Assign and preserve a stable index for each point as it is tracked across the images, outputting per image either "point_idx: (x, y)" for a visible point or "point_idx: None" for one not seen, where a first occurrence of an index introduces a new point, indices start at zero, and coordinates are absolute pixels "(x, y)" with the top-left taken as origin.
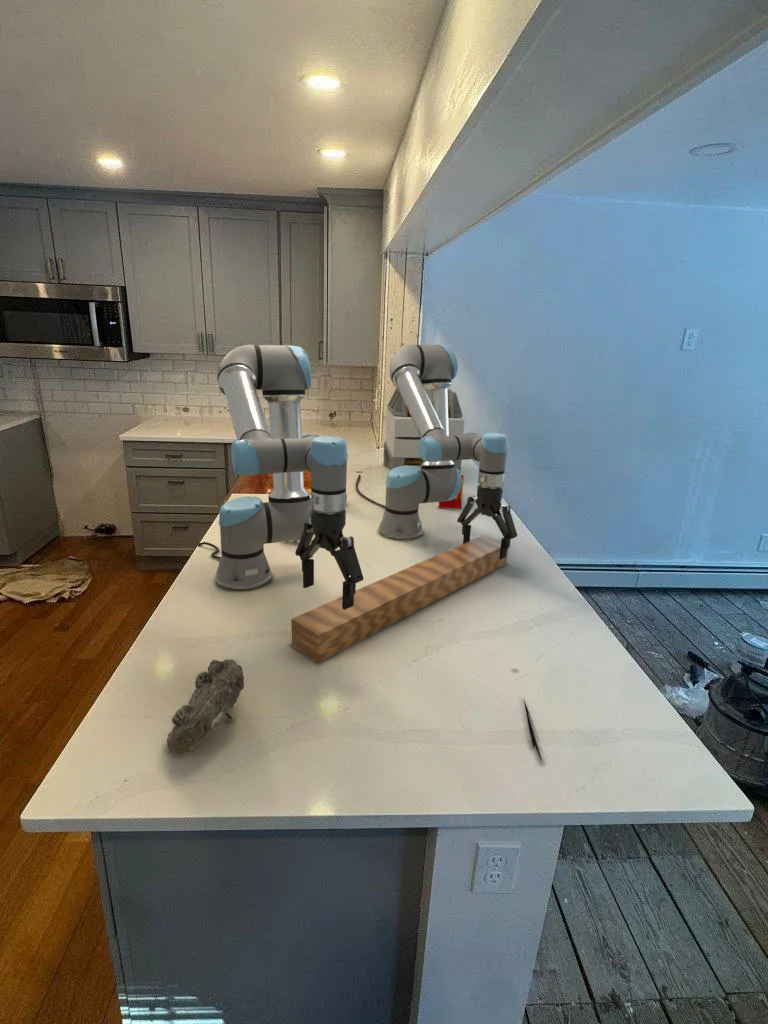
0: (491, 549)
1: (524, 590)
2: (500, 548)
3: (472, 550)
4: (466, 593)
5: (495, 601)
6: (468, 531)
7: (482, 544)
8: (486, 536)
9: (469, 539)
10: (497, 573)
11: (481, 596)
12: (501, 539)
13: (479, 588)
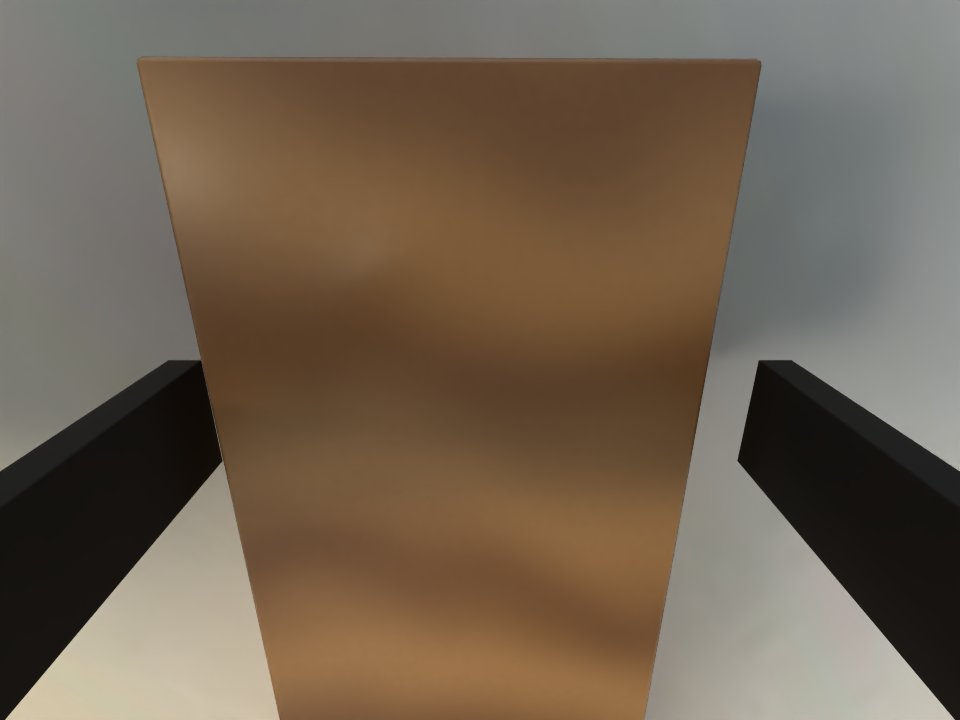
0: (637, 509)
1: (954, 456)
2: (816, 553)
3: (475, 676)
4: None
5: (819, 681)
6: (64, 546)
7: (445, 465)
8: (246, 106)
9: (160, 405)
10: None
11: (724, 690)
12: (945, 706)
13: (666, 634)
